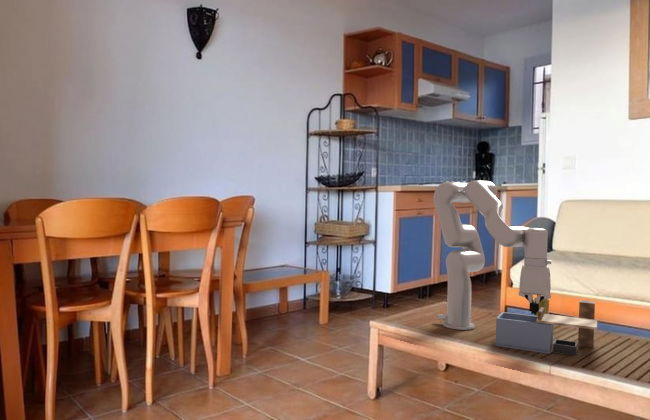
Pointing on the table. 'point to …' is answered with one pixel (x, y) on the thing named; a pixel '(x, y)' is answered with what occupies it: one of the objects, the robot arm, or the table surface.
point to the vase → (544, 304)
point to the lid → (566, 320)
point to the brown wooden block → (585, 334)
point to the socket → (565, 347)
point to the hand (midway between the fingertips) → (534, 313)
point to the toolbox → (523, 333)
